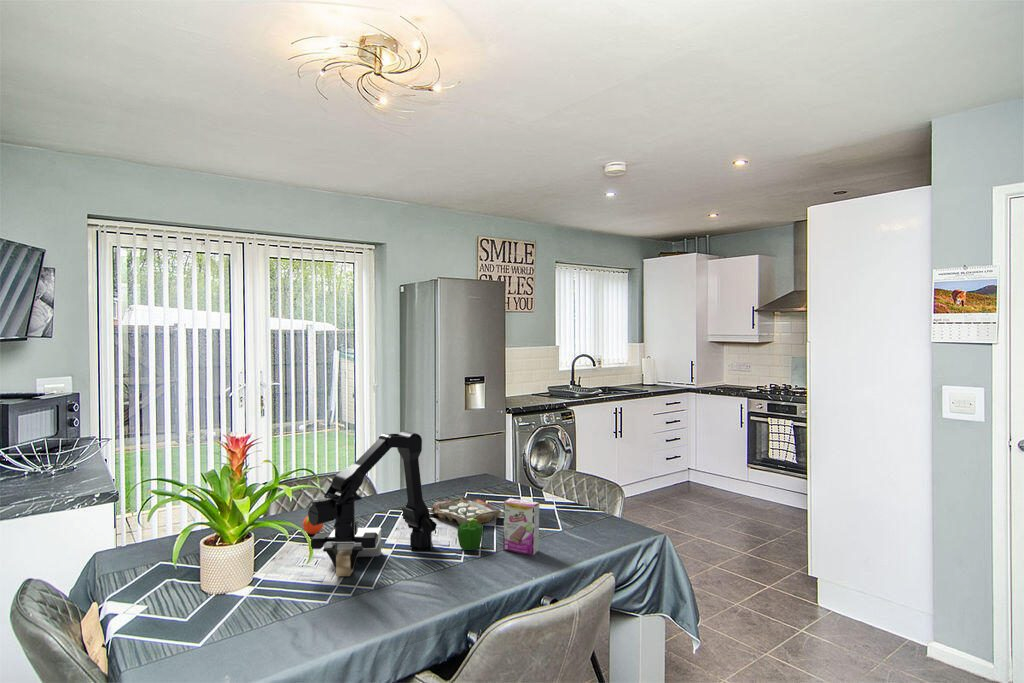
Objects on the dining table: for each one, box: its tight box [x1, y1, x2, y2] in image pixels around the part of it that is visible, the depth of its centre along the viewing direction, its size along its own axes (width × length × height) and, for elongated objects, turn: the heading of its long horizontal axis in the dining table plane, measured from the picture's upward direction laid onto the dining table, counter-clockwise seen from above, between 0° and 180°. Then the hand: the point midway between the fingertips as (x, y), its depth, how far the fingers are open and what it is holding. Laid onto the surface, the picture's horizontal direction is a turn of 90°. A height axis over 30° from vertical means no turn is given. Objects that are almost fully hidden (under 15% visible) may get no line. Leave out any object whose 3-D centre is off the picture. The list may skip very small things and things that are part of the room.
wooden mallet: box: [335, 551, 359, 577], centre depth 174 cm, size 4×15×6 cm, turn 1°
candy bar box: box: [502, 497, 540, 556], centre depth 187 cm, size 11×5×16 cm, turn 65°
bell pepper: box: [457, 519, 484, 551], centre depth 190 cm, size 8×8×10 cm
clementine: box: [302, 515, 324, 535], centre depth 201 cm, size 8×7×7 cm
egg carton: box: [428, 496, 504, 525], centre depth 221 cm, size 30×22×5 cm
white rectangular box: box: [329, 527, 382, 557], centre depth 181 cm, size 15×9×8 cm, turn 94°
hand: (344, 569), depth 168 cm, fingers closed on wooden mallet, 4 cm apart
